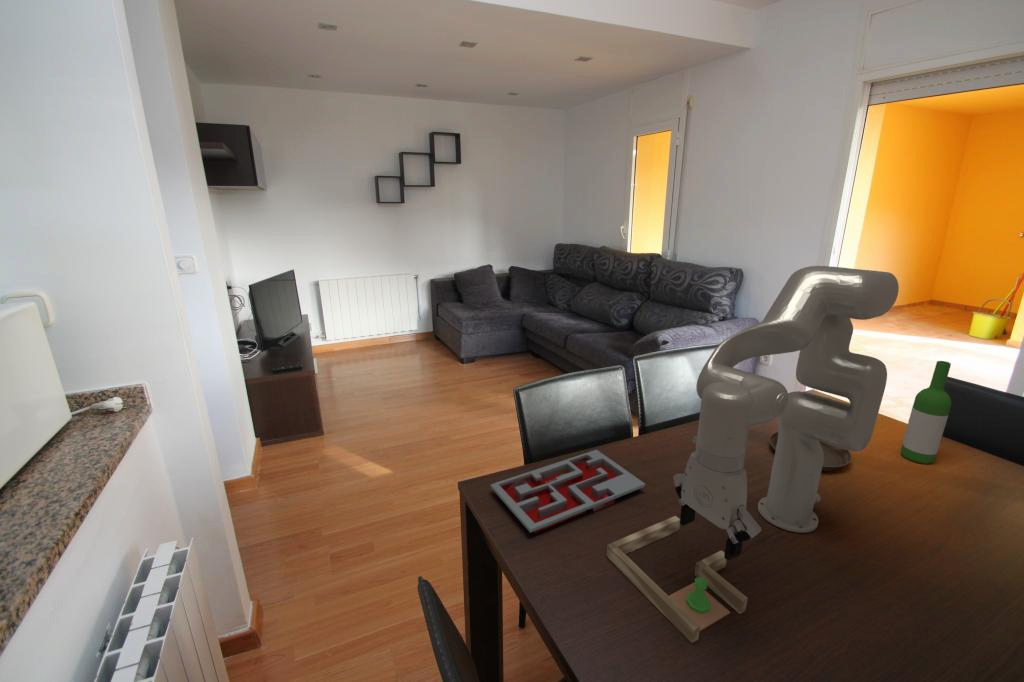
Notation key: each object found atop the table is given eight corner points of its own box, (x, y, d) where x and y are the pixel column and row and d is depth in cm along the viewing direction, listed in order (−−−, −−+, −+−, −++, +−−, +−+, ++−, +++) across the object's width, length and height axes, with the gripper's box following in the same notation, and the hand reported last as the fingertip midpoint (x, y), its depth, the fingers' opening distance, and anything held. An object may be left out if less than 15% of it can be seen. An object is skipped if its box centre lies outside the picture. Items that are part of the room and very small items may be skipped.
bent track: (674, 526, 108) (675, 515, 107) (765, 598, 88) (768, 585, 87) (606, 556, 99) (607, 544, 98) (692, 643, 79) (693, 630, 78)
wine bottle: (931, 455, 137) (959, 360, 128) (936, 468, 131) (966, 369, 122) (897, 448, 141) (923, 356, 132) (901, 460, 135) (928, 363, 126)
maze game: (530, 541, 104) (530, 529, 103) (490, 495, 120) (490, 484, 119) (644, 494, 120) (645, 483, 119) (596, 459, 136) (596, 449, 136)
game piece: (715, 606, 86) (719, 580, 84) (701, 618, 84) (705, 591, 82) (694, 591, 89) (698, 566, 88) (681, 601, 87) (684, 576, 85)
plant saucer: (807, 480, 126) (809, 470, 125) (752, 443, 145) (754, 434, 144) (867, 470, 130) (870, 460, 129) (807, 435, 149) (808, 426, 148)
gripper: (664, 438, 83) (657, 517, 88) (751, 489, 68) (736, 580, 74) (694, 428, 86) (685, 504, 91) (783, 475, 72) (766, 563, 77)
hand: (708, 538), depth 83 cm, fingers open, 9 cm apart
